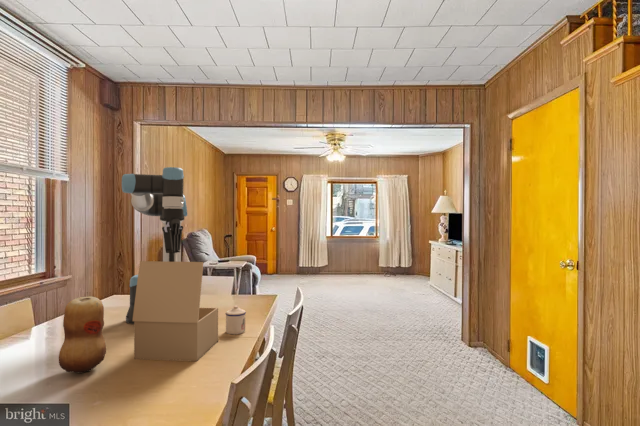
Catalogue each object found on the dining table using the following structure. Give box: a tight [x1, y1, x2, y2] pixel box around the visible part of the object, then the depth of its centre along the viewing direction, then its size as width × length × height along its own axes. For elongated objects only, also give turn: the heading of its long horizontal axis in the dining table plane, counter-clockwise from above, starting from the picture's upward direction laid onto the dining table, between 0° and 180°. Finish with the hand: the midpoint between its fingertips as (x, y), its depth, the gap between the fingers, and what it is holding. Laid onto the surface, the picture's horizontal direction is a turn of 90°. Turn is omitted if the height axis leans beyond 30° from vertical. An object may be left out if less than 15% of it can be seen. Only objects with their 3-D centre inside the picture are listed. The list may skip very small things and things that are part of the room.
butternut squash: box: [58, 296, 107, 374], centre depth 131 cm, size 14×13×25 cm
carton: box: [133, 307, 219, 362], centre depth 152 cm, size 24×22×14 cm
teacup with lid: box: [224, 305, 247, 335], centre depth 177 cm, size 12×9×12 cm
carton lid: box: [132, 260, 204, 323], centre depth 143 cm, size 25×22×1 cm
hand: (173, 269), depth 147 cm, fingers closed
